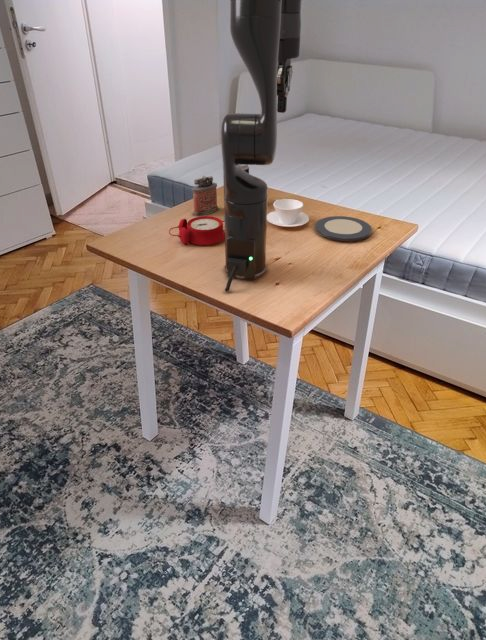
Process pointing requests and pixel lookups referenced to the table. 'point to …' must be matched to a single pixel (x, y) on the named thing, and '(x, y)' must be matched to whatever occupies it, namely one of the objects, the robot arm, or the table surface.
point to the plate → (343, 228)
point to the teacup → (288, 213)
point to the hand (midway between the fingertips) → (281, 111)
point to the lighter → (204, 196)
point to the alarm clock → (201, 230)
